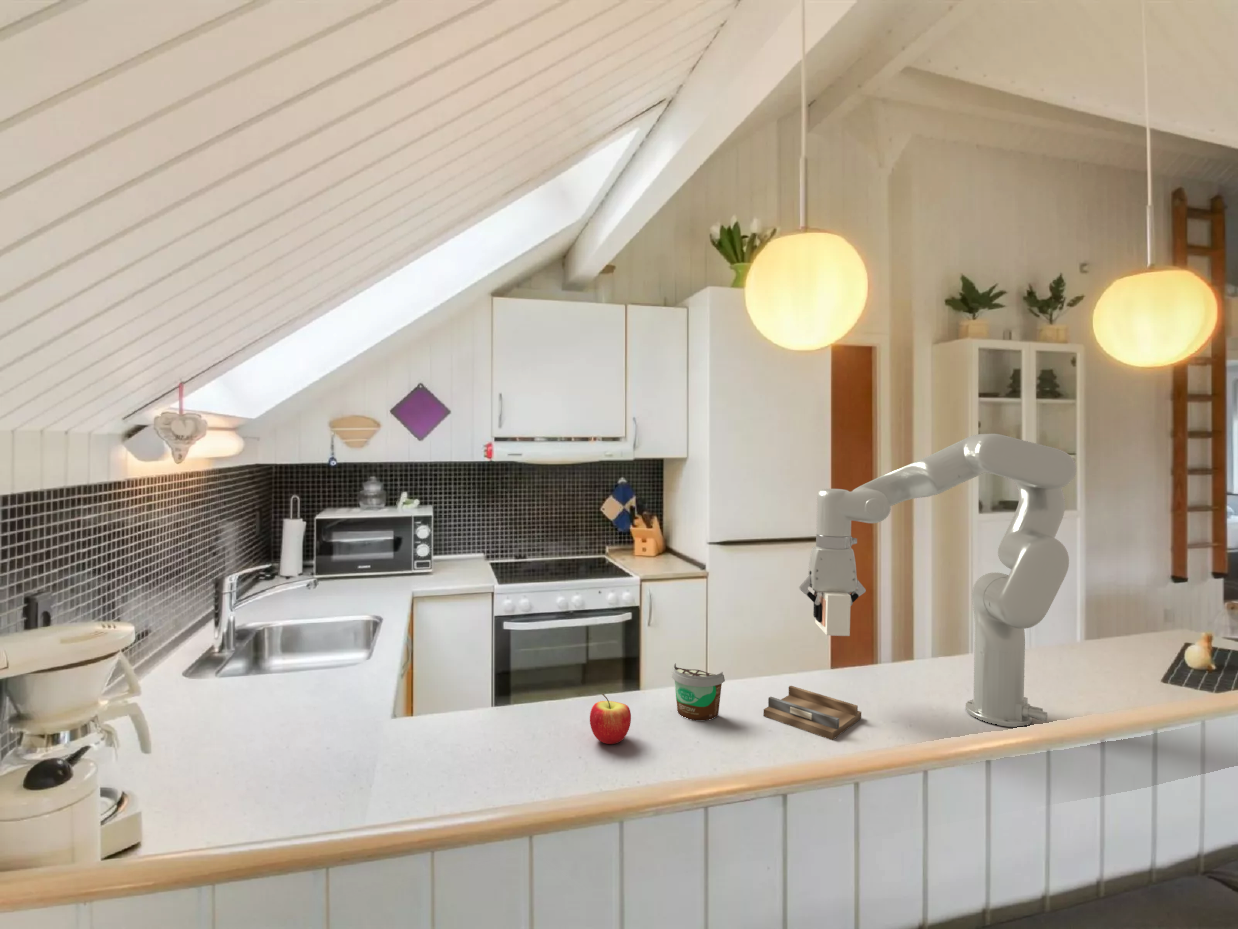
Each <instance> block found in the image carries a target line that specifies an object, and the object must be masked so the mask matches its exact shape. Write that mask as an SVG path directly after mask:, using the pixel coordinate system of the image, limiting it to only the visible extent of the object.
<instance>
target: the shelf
mask: <svg viewBox="0 0 1238 929" xmlns="http://www.w3.org/2000/svg"><path fill="white" fill-rule="evenodd" d="M767 701H768V702H767V704H768V706H767V707H765V708H763V717H765V718H768V719H771V720H774V721H776V722H780V723H783V724H785V725H789V726H791V727H794V728H797V729H800V730H802V731H806V732H808V733H811V734H814V735H817V736H820V737H823V738H825V737H826V739H828V738H829V739H828V740H831V741H834V739H836V738H837V737H839V736H840V735H841V734H842V733H844V732H845V731H847V730H848V729H849V728H851V727H852V726H853V725H855V724H856V723H857V722H858V720H859V721H860V720H861V719H862V711H860V710H859V709H858V708H859V707H858V705H857V704H853V703H850V702H847V701H844V700H841V699H837V698H834V697H831V696H827V695H823V694H820V693H817V692H813V691H811V690H808V689H804V688H800V687H797V686H793V685H789V686H788V695H787V696H784V697H783V698H781V699H779V698H776V697H774V696H769V697H768V700H767ZM835 737H836V738H835Z"/></svg>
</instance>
